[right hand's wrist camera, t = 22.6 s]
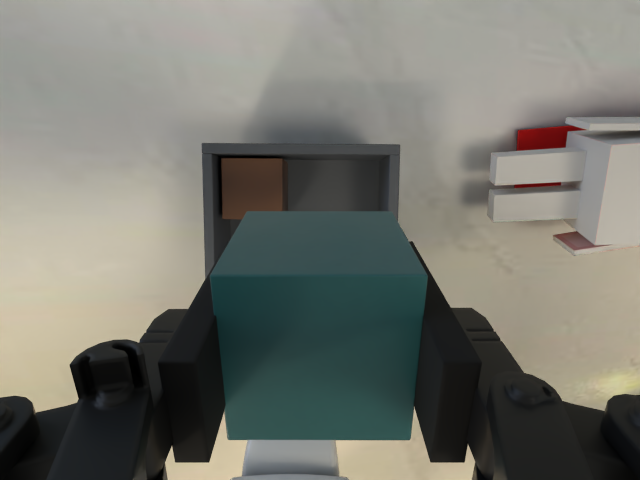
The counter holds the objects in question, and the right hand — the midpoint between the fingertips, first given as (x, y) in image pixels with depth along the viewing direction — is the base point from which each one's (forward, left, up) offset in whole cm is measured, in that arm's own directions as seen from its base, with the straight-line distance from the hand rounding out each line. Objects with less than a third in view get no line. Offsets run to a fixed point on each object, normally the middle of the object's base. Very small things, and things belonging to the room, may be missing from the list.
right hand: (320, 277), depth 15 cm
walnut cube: (-6, +2, -24) cm, 25 cm away
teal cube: (0, 0, 0) cm, 0 cm away
